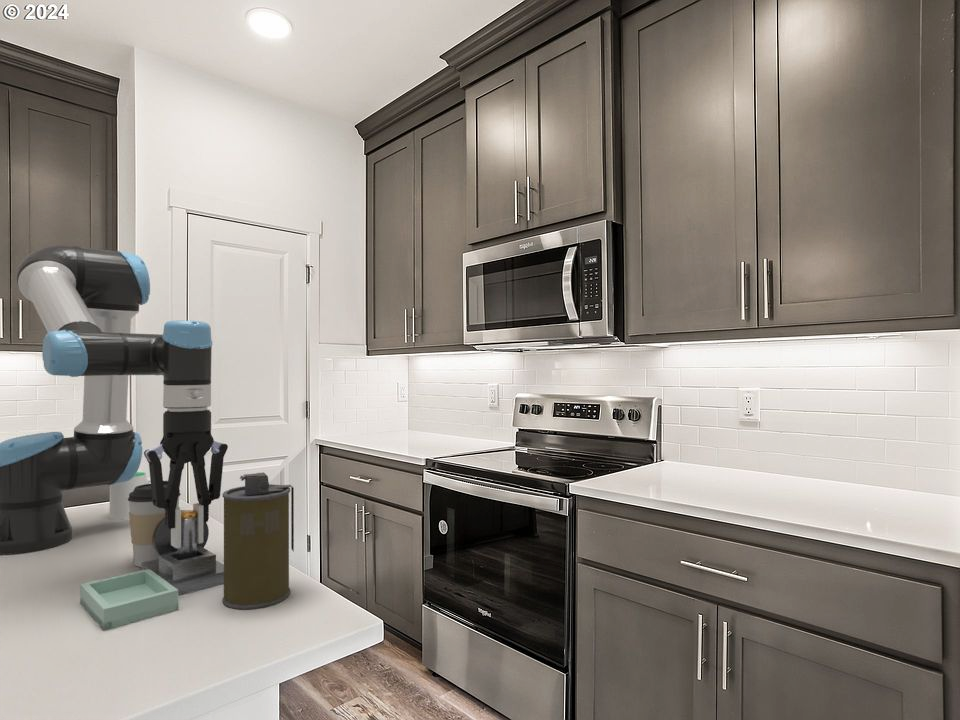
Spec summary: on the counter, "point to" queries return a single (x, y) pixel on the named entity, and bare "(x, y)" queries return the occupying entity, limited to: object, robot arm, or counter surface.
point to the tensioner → (184, 563)
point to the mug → (124, 495)
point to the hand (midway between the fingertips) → (187, 543)
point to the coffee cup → (144, 522)
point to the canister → (257, 543)
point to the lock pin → (188, 535)
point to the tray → (128, 598)
